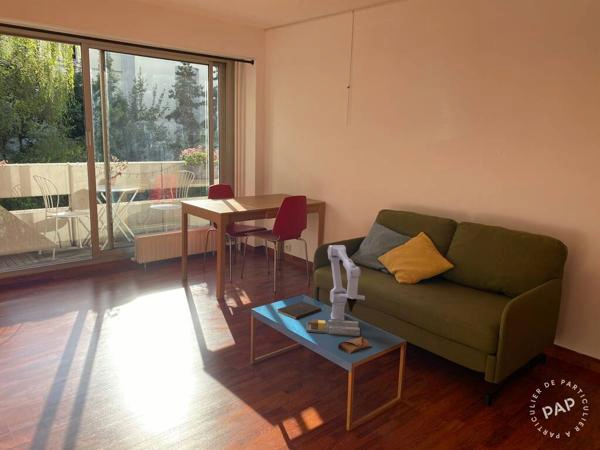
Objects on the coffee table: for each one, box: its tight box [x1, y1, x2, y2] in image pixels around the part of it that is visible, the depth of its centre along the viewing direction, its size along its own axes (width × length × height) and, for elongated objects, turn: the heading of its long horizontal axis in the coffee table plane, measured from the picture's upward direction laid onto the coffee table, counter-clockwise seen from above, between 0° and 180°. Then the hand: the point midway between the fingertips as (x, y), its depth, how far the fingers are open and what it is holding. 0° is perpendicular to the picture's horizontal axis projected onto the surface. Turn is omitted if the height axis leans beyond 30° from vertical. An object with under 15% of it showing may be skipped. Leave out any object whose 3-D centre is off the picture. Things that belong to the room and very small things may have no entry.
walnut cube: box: [310, 319, 319, 329], centre depth 265 cm, size 4×4×4 cm
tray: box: [305, 321, 329, 334], centre depth 265 cm, size 11×12×1 cm
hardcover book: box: [276, 300, 322, 321], centre depth 290 cm, size 16×23×2 cm
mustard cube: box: [317, 319, 326, 330], centre depth 265 cm, size 4×4×4 cm
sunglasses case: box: [338, 335, 373, 355], centre depth 245 cm, size 18×7×7 cm, turn 129°
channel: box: [327, 318, 361, 337], centre depth 265 cm, size 12×17×4 cm
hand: (350, 310), depth 267 cm, fingers closed
